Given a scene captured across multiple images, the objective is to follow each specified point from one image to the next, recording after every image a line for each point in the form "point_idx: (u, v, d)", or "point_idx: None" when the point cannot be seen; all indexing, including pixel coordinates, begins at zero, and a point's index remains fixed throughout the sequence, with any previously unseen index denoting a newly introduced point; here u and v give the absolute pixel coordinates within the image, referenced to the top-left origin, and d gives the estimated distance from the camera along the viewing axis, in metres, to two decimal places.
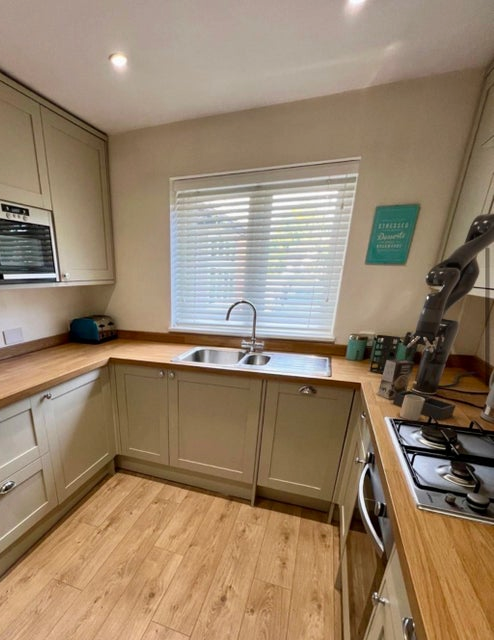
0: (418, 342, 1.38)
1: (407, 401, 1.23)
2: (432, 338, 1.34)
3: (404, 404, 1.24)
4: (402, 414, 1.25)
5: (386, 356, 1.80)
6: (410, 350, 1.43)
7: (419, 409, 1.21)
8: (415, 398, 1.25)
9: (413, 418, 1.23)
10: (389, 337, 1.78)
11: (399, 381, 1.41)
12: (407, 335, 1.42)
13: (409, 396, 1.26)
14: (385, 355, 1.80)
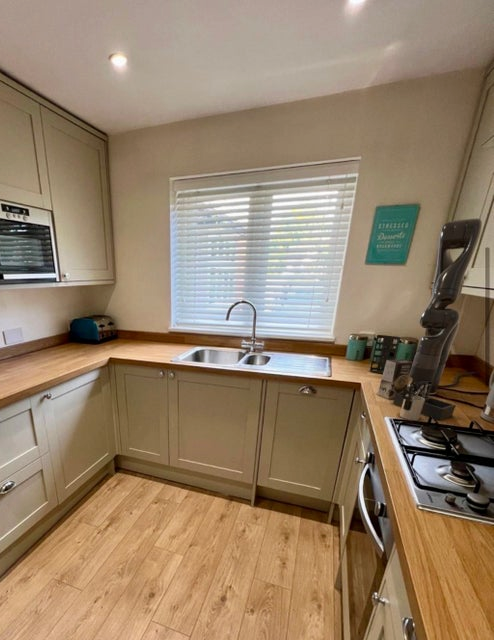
0: None
1: None
2: None
3: None
4: (402, 414, 1.25)
5: (386, 356, 1.80)
6: None
7: (419, 409, 1.21)
8: (415, 398, 1.25)
9: (413, 418, 1.23)
10: (389, 337, 1.78)
11: (399, 381, 1.41)
12: None
13: None
14: (385, 355, 1.80)
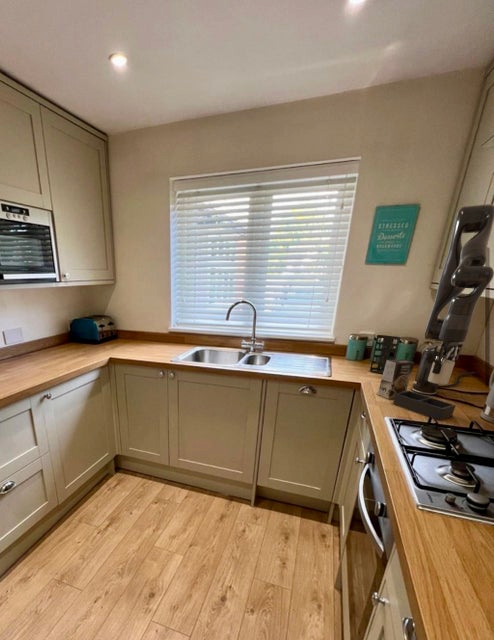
0: None
1: None
2: None
3: None
4: (431, 378, 1.23)
5: (386, 356, 1.80)
6: None
7: (449, 372, 1.19)
8: (444, 362, 1.23)
9: (442, 382, 1.20)
10: (389, 337, 1.78)
11: (399, 381, 1.41)
12: None
13: None
14: (385, 355, 1.80)
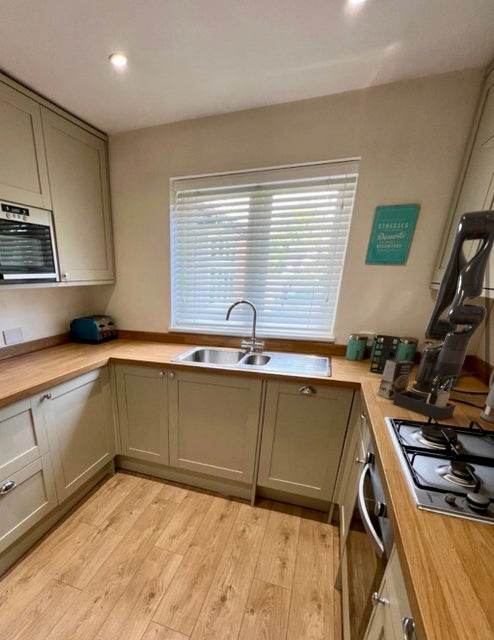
0: None
1: None
2: None
3: (429, 398, 1.27)
4: None
5: (386, 356, 1.80)
6: None
7: (444, 403, 1.24)
8: (440, 392, 1.28)
9: None
10: (389, 337, 1.78)
11: (399, 381, 1.41)
12: None
13: None
14: (385, 355, 1.80)
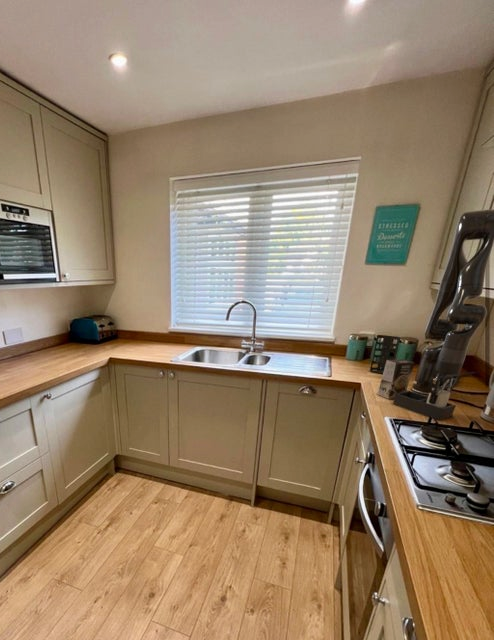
0: None
1: None
2: None
3: (429, 398, 1.27)
4: None
5: (386, 356, 1.80)
6: None
7: (444, 403, 1.24)
8: (440, 392, 1.28)
9: None
10: (389, 337, 1.78)
11: (399, 381, 1.41)
12: None
13: (434, 390, 1.29)
14: (385, 355, 1.80)
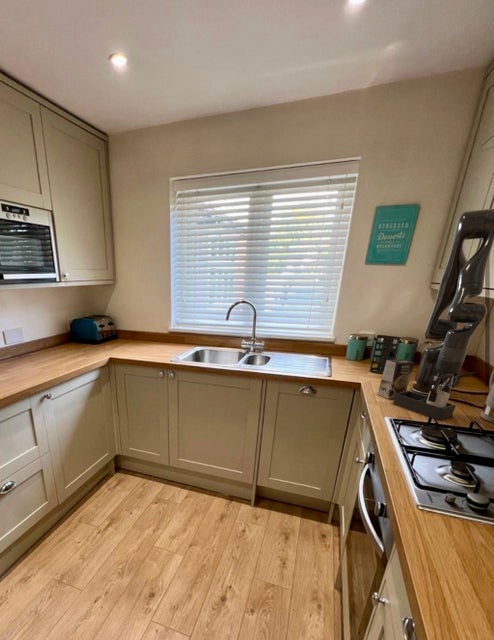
0: None
1: None
2: None
3: None
4: None
5: (386, 356, 1.80)
6: (444, 391, 1.28)
7: (444, 404, 1.25)
8: (439, 393, 1.28)
9: None
10: (389, 337, 1.78)
11: (399, 381, 1.41)
12: None
13: None
14: (385, 355, 1.80)
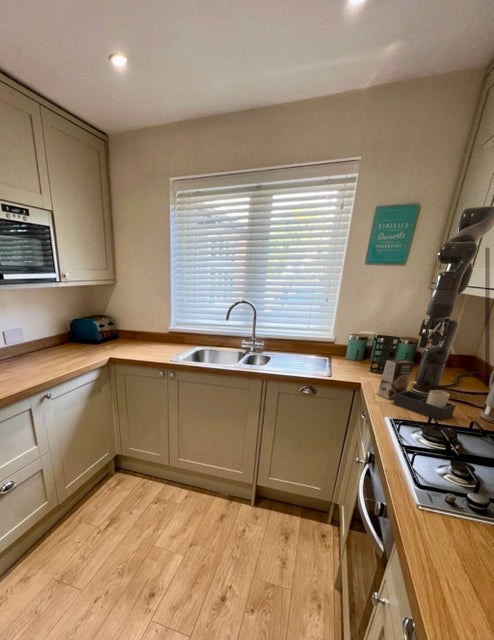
0: None
1: (432, 396, 1.26)
2: None
3: (429, 399, 1.27)
4: None
5: (386, 356, 1.80)
6: (436, 338, 1.27)
7: (444, 404, 1.25)
8: (439, 393, 1.28)
9: None
10: (389, 337, 1.78)
11: (399, 381, 1.41)
12: None
13: (433, 391, 1.29)
14: (385, 355, 1.80)
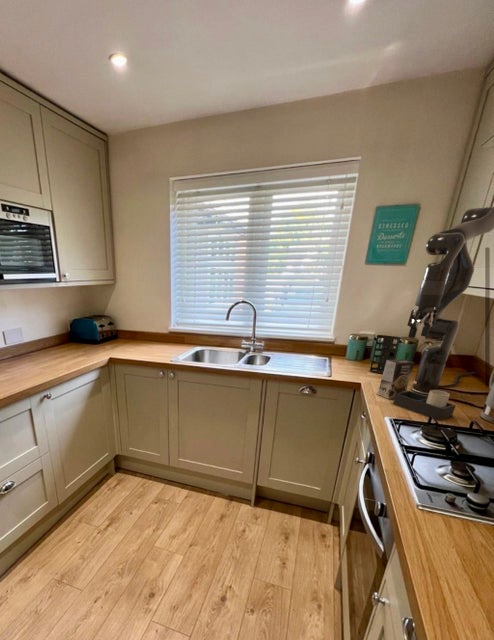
0: None
1: (432, 396, 1.26)
2: None
3: (429, 399, 1.27)
4: None
5: (386, 356, 1.80)
6: (425, 329, 1.29)
7: (444, 404, 1.25)
8: (439, 393, 1.28)
9: None
10: (389, 337, 1.78)
11: (399, 381, 1.41)
12: None
13: (433, 391, 1.29)
14: (385, 355, 1.80)
